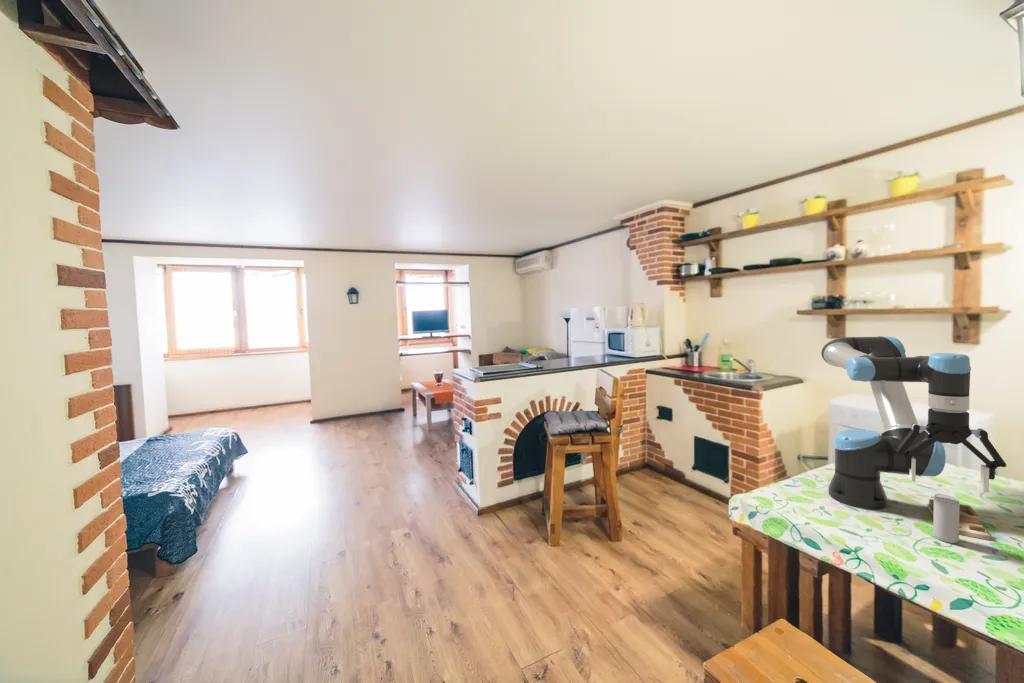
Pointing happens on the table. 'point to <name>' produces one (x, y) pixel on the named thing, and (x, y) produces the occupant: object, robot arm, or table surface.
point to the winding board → (967, 522)
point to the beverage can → (946, 518)
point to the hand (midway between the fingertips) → (947, 484)
